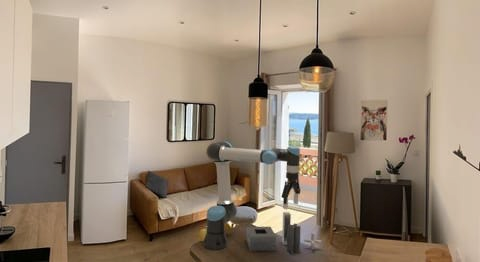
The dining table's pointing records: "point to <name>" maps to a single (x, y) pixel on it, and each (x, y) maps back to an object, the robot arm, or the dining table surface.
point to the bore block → (261, 239)
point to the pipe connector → (312, 241)
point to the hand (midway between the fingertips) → (290, 206)
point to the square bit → (285, 226)
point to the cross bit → (293, 238)
